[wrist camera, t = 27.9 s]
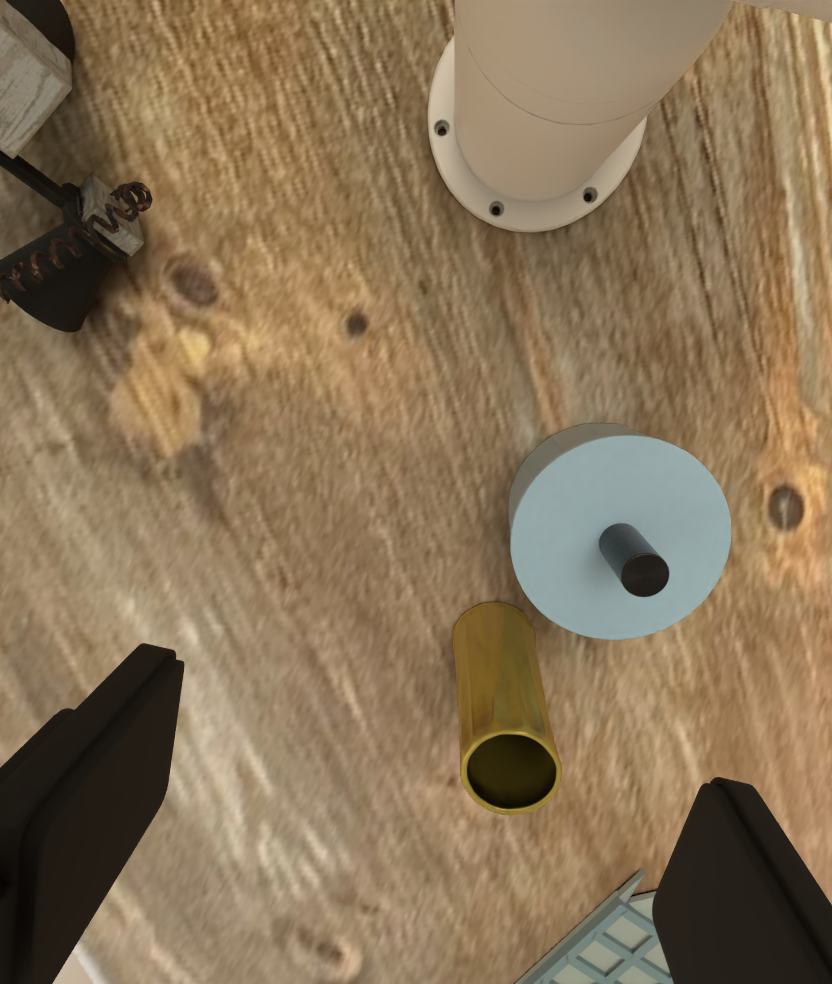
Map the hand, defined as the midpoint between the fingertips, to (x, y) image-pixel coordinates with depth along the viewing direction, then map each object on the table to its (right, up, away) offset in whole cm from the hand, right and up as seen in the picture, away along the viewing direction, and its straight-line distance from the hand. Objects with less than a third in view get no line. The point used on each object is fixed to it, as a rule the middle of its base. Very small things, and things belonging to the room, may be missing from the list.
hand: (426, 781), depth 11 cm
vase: (+6, -6, +35) cm, 36 cm away
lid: (+12, +2, +26) cm, 28 cm away
